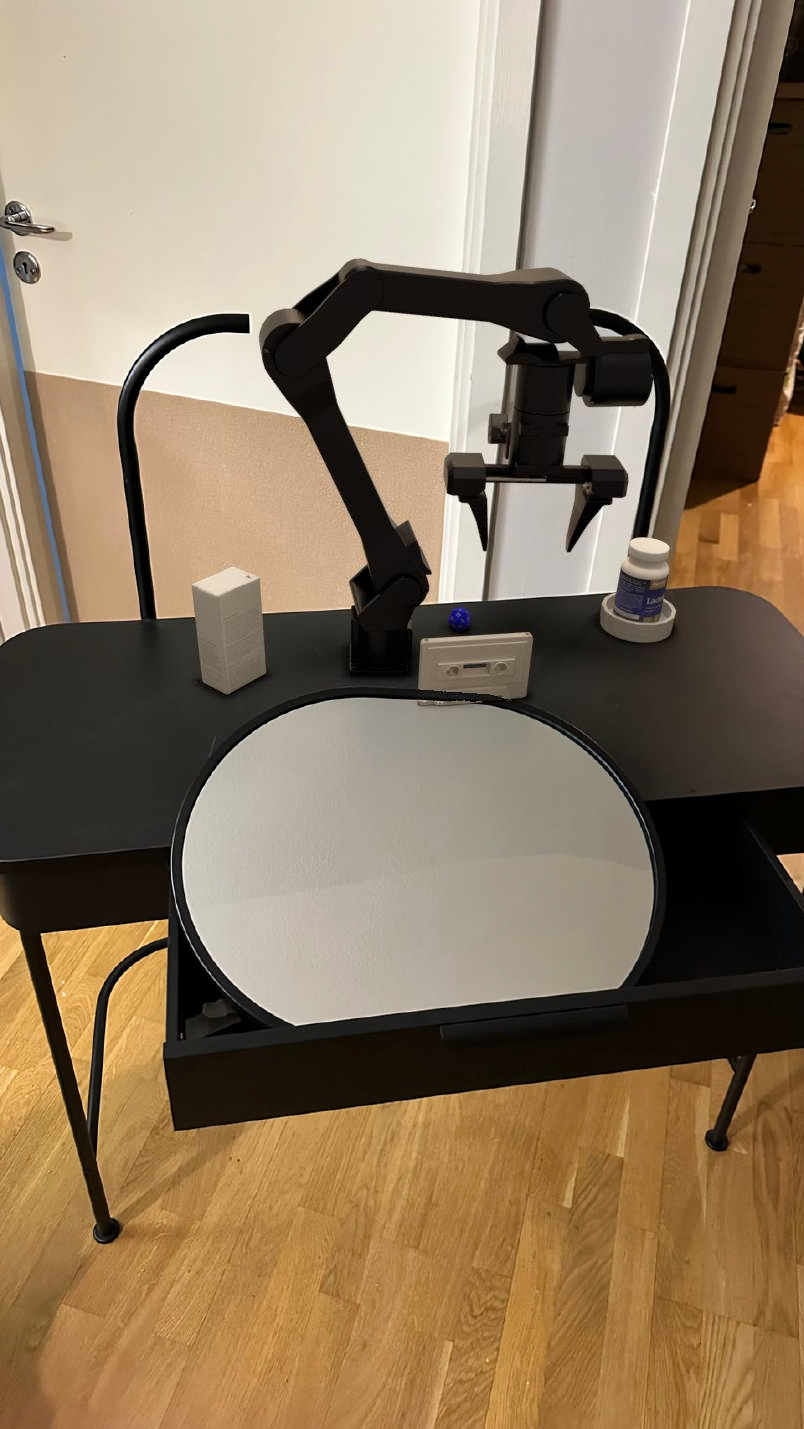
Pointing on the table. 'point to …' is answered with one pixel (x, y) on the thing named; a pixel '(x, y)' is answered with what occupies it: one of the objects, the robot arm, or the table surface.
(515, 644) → the cassette
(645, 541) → the pill bottle
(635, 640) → the dish
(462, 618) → the die
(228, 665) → the cosmetic box
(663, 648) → the table surface
